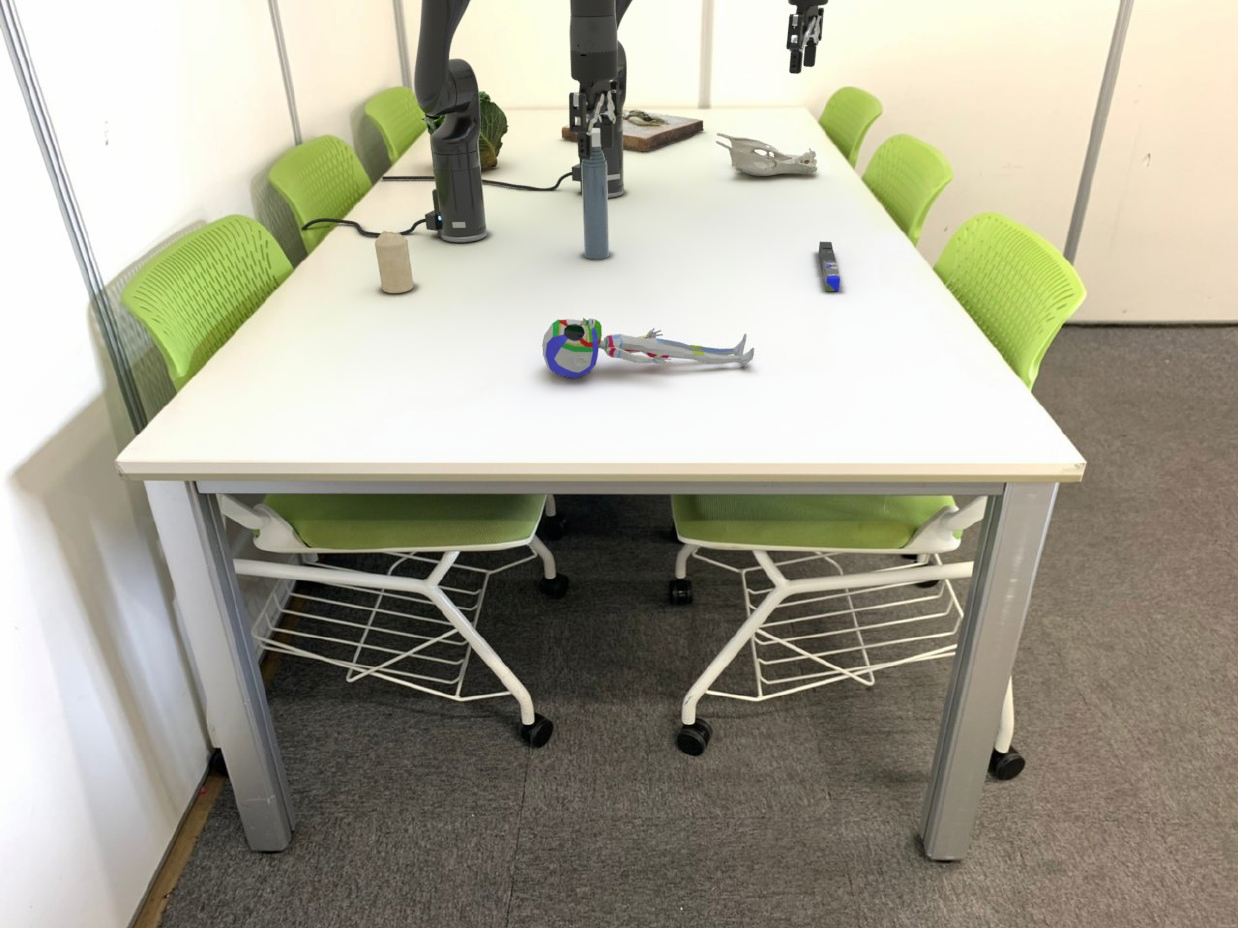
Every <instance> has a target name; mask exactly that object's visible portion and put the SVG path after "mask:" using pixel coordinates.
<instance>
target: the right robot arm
mask: <svg viewBox="0 0 1238 928" xmlns="http://www.w3.org/2000/svg"><path fill="white" fill-rule="evenodd" d="M633 1H634V0H615V15H616V24H617V32H618V31H619V27H620V25H621V22H622V20H623V18H624V16H625V14H626V13H627V11H628V10H629V7H630V6H631V4H632V3H633ZM787 3H788V4H789V5H790V6H796V9H795V13H790V14H789V16H788V26H787V35H786V45H785V47H786V50H788V51H789V53H790V57H789V69H788V71H789V73H790V74H793V75H799V74H801V73H802V68H803V67H805V68H813V67H815V65H816V57H817V48H818V46H819V43H820V42H821V41H822V39H823V25H824V13H825V8H824V7H821V6H825V5H827V4H829V0H787ZM617 45H618V76H617V78H616V79H614V80H618V81H619V98H620V116H619V117H616V121H615V123H614V145H613V146H612V147H610V148H609V147H602V146H601V149H602V153H604V156H605V160H606V163H607V186H608V199H612V198H617V197H620V196H622V195H624V193H625V187H624V186H625V183H624V181H625V180H624V175H625V174H624V173H625V172H624V148H623V110H624V107H625V103H626V99H627V82H628V81H627V79H628V78H627V76H628V61H627V54H626V50H625V47H624V45H623V43H622V42H621V41H620V39H618V38H617ZM802 65H803V66H802ZM613 104H614V103H613ZM587 123H588V122H586V127H587ZM600 124H601V122H600V120H599V117H598V119H597V122H595V123H594V124H593V128H600ZM578 158H579V157H578ZM582 160H583V159H580V158H579V163H577V164H575V165H572V166H571V171H569V172H567V173H565V174H563V175H561V176H560V177H559V178H558V180H557V181H556V184H555V185H553V186H551V187H545V188H544V187H536V186H531V185H523V184H514V183H509V182H504V181H497V180H489V179H483V178H482V184H491V185H496V186H503V187H507V188H514V189H522V190H528V191H529V190H531V191H534V192H535V191H537V192H552V191H555V190H557V189H558V188H559V187H560V185H561V183H562V181H563V180H565V179H566V178H568V177H570V176H571V181H572V182H579V184H580V185H579V187H580V195H582V171H581V164H582ZM381 179H382V180H385V181H387V180H389V181H390V180H391V181H392V180H435V177H434V175H391V176H389V175H387V176H386V175H385V176H383V175H382V177H381Z"/></svg>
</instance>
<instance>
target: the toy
mask: <svg viewBox="0 0 1238 928" xmlns="http://www.w3.org/2000/svg"><path fill="white" fill-rule="evenodd" d="M602 327H603V326H602V324H601V321H599V320H597V319H596V318H595V319H594V318H588V319H586V318H585V317H583V318H582V320H580V319H570V318H569V319H556V320H555V321H554V322H552V323H551V325H549V328H548V329H547V331H546V332H545V333H544V335H543V338H542V343H541V348H542V357H543V359H544V362H545V365H546V368H547V369H548V370H550V371H551V372H553V373H554V374H556V375H559V376H562V377H566V378H573V379H574V378H575V379H577V378H580V377H582V376H585V375H586V374H590V373H591V371H592V370H593V369H594V367H596V365H597V362H598V357H599V349H600V350H603V351H604V352H605V353H606V356H608V357H610V358H612V359H621V360H624V361H630V362H632V363H636V364H659V365H664V366H667V367H670V366H671V365H674V362H672V359H683V360H691V361H697V362H701V363H705V364H706V365H707V364H708V365H723V364H730V363H738V364H739V365H742V366H746V365H748V364H749V362H751V361H752V360H753V359H754V356H755V347H752V348H750V350H749V351H747V352H746V353H744V350H745V345H746V342H747V333H746V332H745V333H744V334H743V335H742V336H743V337H742V339H741V340H740V342H739V343H737V345H735V346H734V347H732V348H718V347H709V346H703V345H695V344H687V343H684V342H680V341H675V340H670V339H663V338H657V337H662V336H664V334H663V333H660V332H662V330H661V329H659V330H657V331H655V327H653V328H652V329H650V330H649V331H648V333H646V334H645V335H640V336H632V335H625V334H622V333H618V334H607V335H606V336H605V337H604V338H603V340H602V336H603V335H602V333H603V331H602V329H603V328H602ZM636 353H637V354H636ZM638 353H642V354H644V355H641V354H638ZM646 355H647V356H646ZM667 360H668V361H667Z"/></svg>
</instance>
